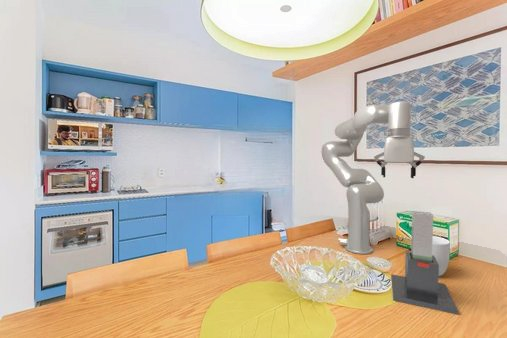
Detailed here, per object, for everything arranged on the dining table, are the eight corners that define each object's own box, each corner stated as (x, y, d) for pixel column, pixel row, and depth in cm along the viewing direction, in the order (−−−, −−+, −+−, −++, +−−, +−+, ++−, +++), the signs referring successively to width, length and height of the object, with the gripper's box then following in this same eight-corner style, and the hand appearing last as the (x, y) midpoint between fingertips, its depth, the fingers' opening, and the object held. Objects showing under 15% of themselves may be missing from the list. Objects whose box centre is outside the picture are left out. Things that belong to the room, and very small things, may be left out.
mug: (426, 283, 89) (427, 246, 88) (399, 270, 100) (400, 237, 99) (456, 277, 93) (457, 242, 93) (428, 265, 104) (428, 233, 103)
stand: (393, 300, 78) (393, 262, 78) (391, 278, 93) (391, 246, 92) (457, 314, 71) (459, 272, 71) (444, 288, 86) (446, 253, 85)
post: (412, 276, 81) (413, 214, 80) (410, 269, 85) (412, 210, 84) (431, 279, 78) (433, 215, 77) (428, 272, 83) (430, 212, 82)
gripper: (374, 134, 100) (373, 177, 101) (426, 132, 92) (425, 179, 93) (374, 135, 106) (373, 176, 107) (423, 133, 99) (422, 177, 99)
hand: (397, 177), depth 100 cm, fingers open, 9 cm apart
